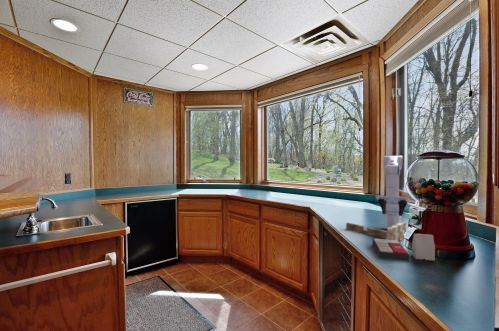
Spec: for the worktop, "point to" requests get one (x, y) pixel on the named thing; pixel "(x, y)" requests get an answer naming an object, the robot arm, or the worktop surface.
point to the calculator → (390, 249)
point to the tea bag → (423, 247)
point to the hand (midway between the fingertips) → (392, 214)
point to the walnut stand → (369, 230)
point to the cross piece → (396, 231)
